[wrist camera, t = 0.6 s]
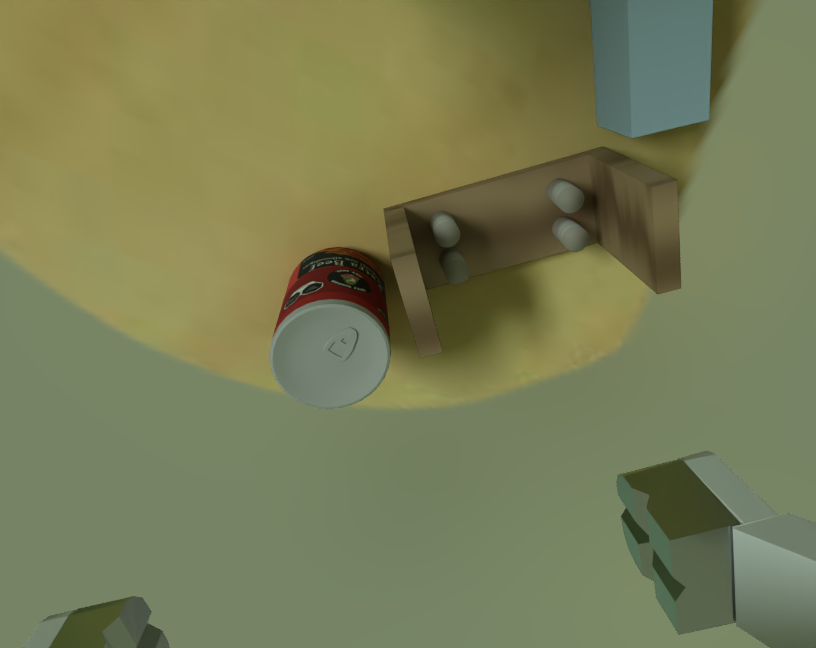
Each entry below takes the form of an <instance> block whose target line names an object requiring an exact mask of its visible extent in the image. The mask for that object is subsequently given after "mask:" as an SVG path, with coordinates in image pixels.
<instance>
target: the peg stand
mask: <svg viewBox="0 0 816 648" xmlns="http://www.w3.org/2000/svg"><path fill="white" fill-rule="evenodd" d="M384 215H385V222H386V230H387V237H388V244H389V251H390V259H391V263H392V266H393V269H394V273H395V276H396V279H397V283H398V286H399V290H400V293H401V296H402V300H403V303H404V306H405V310H406V313H407V316H408V320H409V323H410V326H411V330H412V333H413V336H414V340H415V343H416V346H417V350H418V353H419V356H420V358H423V357H426V356H430V355H434V354H438V353H441V352H442V348H441V344H440V340H439V337H438V333H437V329H436V325H435V321H434V318H433V314H432V310H431V306H430V302H429V298H428V295H427V291H426V290H427V289H430V288H434V287H438V286H441V285H445V284H448V283H451V284H461V283H463V282H464V281H465V280H466V279H467V278H470V277H474V276H478V275H481V274H485V273H489V272H492V271H496V270H499V269H503V268H507V267H510V266H514V265H518V264H521V263H525V262H529V261H532V260H536V259H540V258H543V257H547V256H550V255H554V254H558V253H561V252H565V251H572V252H577V251H580V250H582V249H584V248H585V247H586V246H587V245H591V244H594V243H599V244H600V245H601V246H602V247H603V248H604V249H606V250H607V251H608V252H609V253H610V254H611V255H613V256H614V257H615V258H616V259H617V260H618V261H620V262H621V263H622V264H623V265H624V266H625V267H626V268H628V269H629V270H630V271H631V272H632V273H633V274H635V275H636V276H637V277H638V278H639V279H640V280H641V281H643V282H644V283H645V284H646V285H647V286H648V287H650V288H651V289H652V290H653V291H654V292H655V293H656V294H661V293H665V292H669V291H672V290H676V289H680V288H681V269H680V239H679V211H678V182H677V180H676V179H674V178H671V177H669V176H667V175H665V174H663V173H660V172H658V171H656V170H654V169H652V168H649V167H647V166H645V165H643V164H640V163H638V162H636V161H634V160H632V159H629V158H627V157H625V156H623V155H621V154H618V153H616V152H614V151H612V150H610V149H607V148H605V147H600V148H596V149H593V150H589V151H586V152H582V153H578V154H575V155H571V156H568V157H564V158H561V159H557V160H554V161H550V162H547V163H543V164H540V165H536V166H533V167H529V168H526V169H522V170H518V171H515V172H511V173H508V174H504V175H501V176H497V177H494V178H490V179H487V180H483V181H480V182H476V183H473V184H469V185H466V186H462V187H458V188H455V189H451V190H448V191H444V192H441V193H437V194H434V195H430V196H427V197H423V198H420V199H416V200H413V201H409V202H406V203H402V204H399V205H395V206H391V207H388V208H384Z"/></svg>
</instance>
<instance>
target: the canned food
mask: <svg viewBox="0 0 816 648" xmlns="http://www.w3.org/2000/svg"><path fill="white" fill-rule="evenodd" d="M390 355H391V348H390V333H389V324H388V315H387V305H386V296H385V287H384V283H383V279H382V276H381V274H380V272H379V270H378V268H377V267H376V266H375V265H374V264H373V262H372V261H370V260H369V259H368V258H367V257H365V256H364V255H362V254H361V253H359V252H357V251H355V250H351V249H348V248H340V247H335V248H327V249H323V250H320V251H318V252H316V253H314V254H312V255H310V256H308V257H307V258H306V259H304V260H303V261H302V262H301V263H300V264H299V265H298V266H297V268H296V269H295V270H294V272H293V274H292V276H291V278H290V281H289V284H288V288H287V291H286V294H285V298H284V301H283V304H282V308H281V311H280V314H279V318H278V321H277V324H276V328H275V331H274V335H273V339H272V343H271V350H270V363H271V370H272V372H273V375H274V377H275V380H276V381H277V383H278V384H279V386H280V387H281V388H282V389H283V390H284V391H285V392H286V393H287V394H288V395H289V396H290V397H292V398H294V399H295V400H297V401H298V402H301V403H303V404H305V405H308V406H312V407H316V408H326V409H332V408H342V407H345V406H349V405H352V404H355V403H357V402H359V401H361V400H363V399H364V398H366V397H367V396H369V395H370V394H371V393H372V392H373V391H374V390H375V389H376V388H377V387H378V386H379V385H380V384H381V382H382V381H383V379H384V378H385V375H386V373H387V370H388V368H389V362H390Z"/></svg>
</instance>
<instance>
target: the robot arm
mask: <svg viewBox="0 0 816 648" xmlns="http://www.w3.org/2000/svg"><path fill="white" fill-rule="evenodd" d="M617 490H618V495H619V497H620V499H621V500H622V502H623V503H624V505H625V506H626V509H625V510H624V512H623V514H622V516H621V520H622V526H623V531H624V535H625V539H626V542H627V545H628V548H629V551H630V553H631V555H632V557H633V559H634V561H635V563H636V565H637V567H638V568H639V570H640V572H641V573H642V575H643V576H645V577H647V578H649V579H651V580H653V581H654V584H655V592H656V598H657V600H658V602H659V603H660V605H661V607H662V608H663V610H664V612H665V613H666V615H667V616H668V618H669V620H670V621H671V623H672V625H673V626H674V628H675V629H676V631H677V633H678V634H679V635H680V634H685V633H689V632H694V631H699V630H703V629H708V628H712V627H718V626H722V625H727V624H731V623H736V625H737V626H738V627H739V628H741V629H742V630H744V631H745V632H747V633H748V634H750V635H752V636H753V637H755V638H756V639H758V640H759V641H761V642H762V643H764V644H765V645H767V646H768V647H770V648H816V523H815V522H813V521H810V520H807V519H804V518H801V517H799V516H796V515H793V514H790V513H787V514H782V515H778V514H777V513H776V512H775V511H774V510H773V509H772V508H771V507H770V506H769V505H768V504H767V503H765V501H763V499H761V498H760V497H759V496H758V495H757V494H756V493H755V492H754V491H753V490H752V489H751V488H750V487H749V486H748V485H747V484H746V483H745V482H744V481H743V480H742V479H740V478H739V477H738V476H737V475H736V474H735V473H734V472H733V471H732V470H731V469H730V468H729V467H728V466H727V465H726V464H725V463H724V462H723V461H722V460H721V459H720V458H718V457H717V456H716V455H715V454H714V453H712V452H710V451H704V452H700V453H697V454H693V455H689V456H686V457H682V458H679V459H677V460H674V461H670V462H666V463H662V464H658V465H654V466H650V467H647V468H642V469H638V470H635V471H631V472H627V473H623V474H619V475H618V476H617ZM150 615H151V610H150V609H149V607H148V605H147V604H146V602H145V601H144V599H143V598H142V597H135V596H132V597H128V598H124V599H120V600H115V601H111V602H106V603H101V604H97V605H92V606H89V607H84V608H79V609H77V610H74V611H69V612H64V613H60V614H55V615H51V616H49V617H47V618H46V619H44V620H43V621H41V622H40V623H39V624H38V625H37V627H36V629H35V630H34V632H33V633H32V635H31V636H30V638H29V639H28V641H27V642H26V644H25V645H24V647H23V648H169V643H168V641H167V639H166V637H165V635H164V633H163V631H162V630H160V629H158V628H156V627H154V626H152V625H150V624H148V621H149V618H150Z"/></svg>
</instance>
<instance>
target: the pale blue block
mask: <svg viewBox="0 0 816 648" xmlns="http://www.w3.org/2000/svg"><path fill="white" fill-rule="evenodd" d="M590 5H591V23H592V41H593V58H594V76H595V94H596V111H597V126H600V127H603V128H605V129H608V130H611V131H613V132H616V133H619V134H621V135H624V136H627V137H629V138H635V137H639V136H643V135H648V134H652V133H656V132H660V131H664V130H668V129H673V128H677V127H681V126H685V125H689V124H694V123H698V122H702V121H706V120H709V107H710V77H711V47H712V17H713V0H590Z"/></svg>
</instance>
